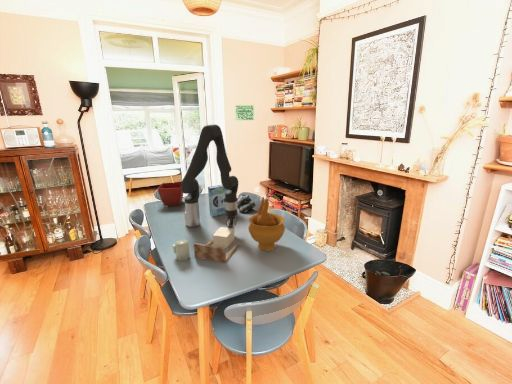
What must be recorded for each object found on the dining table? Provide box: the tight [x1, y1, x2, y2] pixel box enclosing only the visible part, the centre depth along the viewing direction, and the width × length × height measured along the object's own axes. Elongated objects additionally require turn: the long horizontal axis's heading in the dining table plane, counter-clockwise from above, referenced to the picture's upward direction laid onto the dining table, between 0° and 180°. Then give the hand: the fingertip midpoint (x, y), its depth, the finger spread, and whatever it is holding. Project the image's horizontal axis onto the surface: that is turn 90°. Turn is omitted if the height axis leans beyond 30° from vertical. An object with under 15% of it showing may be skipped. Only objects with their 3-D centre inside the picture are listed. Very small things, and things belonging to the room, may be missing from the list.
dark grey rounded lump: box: [237, 193, 257, 214], centre depth 208 cm, size 15×12×14 cm
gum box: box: [207, 184, 228, 218], centre depth 200 cm, size 20×5×23 cm, turn 123°
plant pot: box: [157, 181, 184, 207], centre depth 224 cm, size 19×19×17 cm
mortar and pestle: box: [248, 196, 286, 251], centre depth 148 cm, size 21×21×30 cm
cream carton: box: [212, 226, 235, 249], centre depth 157 cm, size 9×12×7 cm
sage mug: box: [172, 239, 191, 262], centre depth 140 cm, size 8×7×9 cm
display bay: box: [193, 239, 239, 263], centre depth 146 cm, size 18×19×8 cm
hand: (232, 233), depth 166 cm, fingers closed
